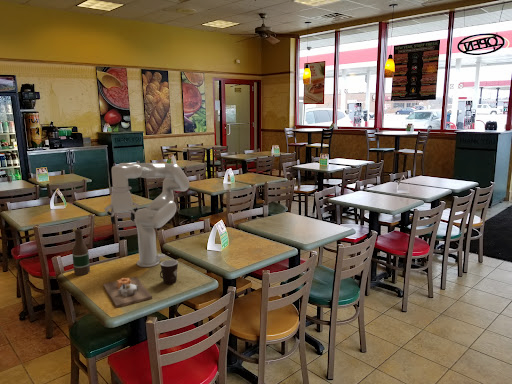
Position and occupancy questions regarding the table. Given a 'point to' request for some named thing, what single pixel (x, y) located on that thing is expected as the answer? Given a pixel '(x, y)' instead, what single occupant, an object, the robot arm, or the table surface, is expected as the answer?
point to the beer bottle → (80, 255)
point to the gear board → (130, 298)
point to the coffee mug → (169, 271)
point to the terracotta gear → (123, 282)
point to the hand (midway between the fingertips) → (123, 222)
